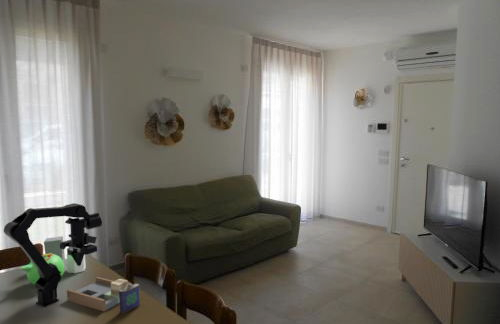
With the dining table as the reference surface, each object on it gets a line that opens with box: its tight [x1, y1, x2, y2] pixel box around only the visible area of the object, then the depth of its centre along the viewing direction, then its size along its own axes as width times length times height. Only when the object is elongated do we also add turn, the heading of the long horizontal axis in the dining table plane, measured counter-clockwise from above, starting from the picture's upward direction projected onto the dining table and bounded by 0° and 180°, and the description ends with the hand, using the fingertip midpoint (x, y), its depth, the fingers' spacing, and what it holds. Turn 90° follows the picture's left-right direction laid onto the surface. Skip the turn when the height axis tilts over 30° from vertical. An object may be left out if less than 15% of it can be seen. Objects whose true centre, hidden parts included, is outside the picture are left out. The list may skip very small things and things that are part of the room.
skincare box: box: [43, 236, 66, 266], centre depth 197 cm, size 8×7×16 cm
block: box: [111, 278, 129, 296], centre depth 160 cm, size 5×5×5 cm
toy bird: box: [19, 253, 65, 286], centre depth 176 cm, size 18×17×15 cm
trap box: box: [66, 276, 120, 312], centre depth 161 cm, size 16×22×4 cm
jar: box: [66, 247, 87, 274], centre depth 192 cm, size 9×8×12 cm
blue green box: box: [119, 282, 141, 314], centre depth 151 cm, size 9×3×11 cm, turn 144°
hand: (79, 265), depth 167 cm, fingers closed
